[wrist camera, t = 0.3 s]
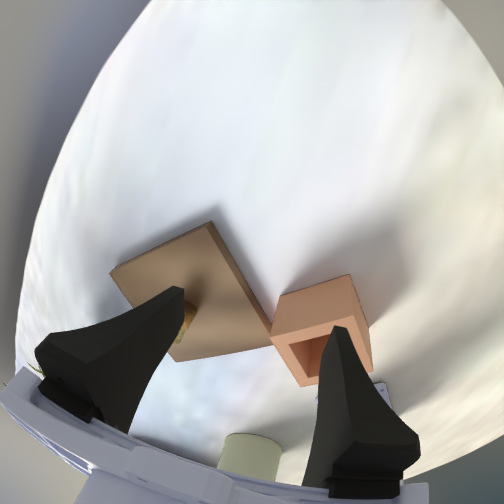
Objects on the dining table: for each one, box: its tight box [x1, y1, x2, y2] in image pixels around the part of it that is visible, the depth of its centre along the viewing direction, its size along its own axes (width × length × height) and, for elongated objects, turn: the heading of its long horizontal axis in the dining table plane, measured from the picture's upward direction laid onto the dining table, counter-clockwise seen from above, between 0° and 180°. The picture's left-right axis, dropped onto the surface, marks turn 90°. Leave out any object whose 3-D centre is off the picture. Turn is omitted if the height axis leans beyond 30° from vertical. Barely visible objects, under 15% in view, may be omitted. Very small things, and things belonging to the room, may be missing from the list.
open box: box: [269, 274, 373, 387], centre depth 22 cm, size 6×6×5 cm
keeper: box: [109, 221, 274, 362], centre depth 25 cm, size 12×12×5 cm
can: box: [217, 433, 283, 482], centre depth 34 cm, size 9×9×12 cm
